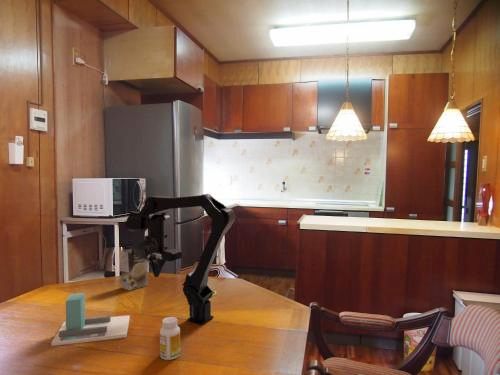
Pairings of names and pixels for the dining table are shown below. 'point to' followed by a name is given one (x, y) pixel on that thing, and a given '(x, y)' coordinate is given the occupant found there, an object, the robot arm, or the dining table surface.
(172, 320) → the supplement bottle
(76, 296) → the switch tab
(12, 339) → the dining table surface
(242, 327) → the dining table surface
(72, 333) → the white rail base plate
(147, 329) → the dining table surface
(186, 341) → the dining table surface
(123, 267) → the coffee box
